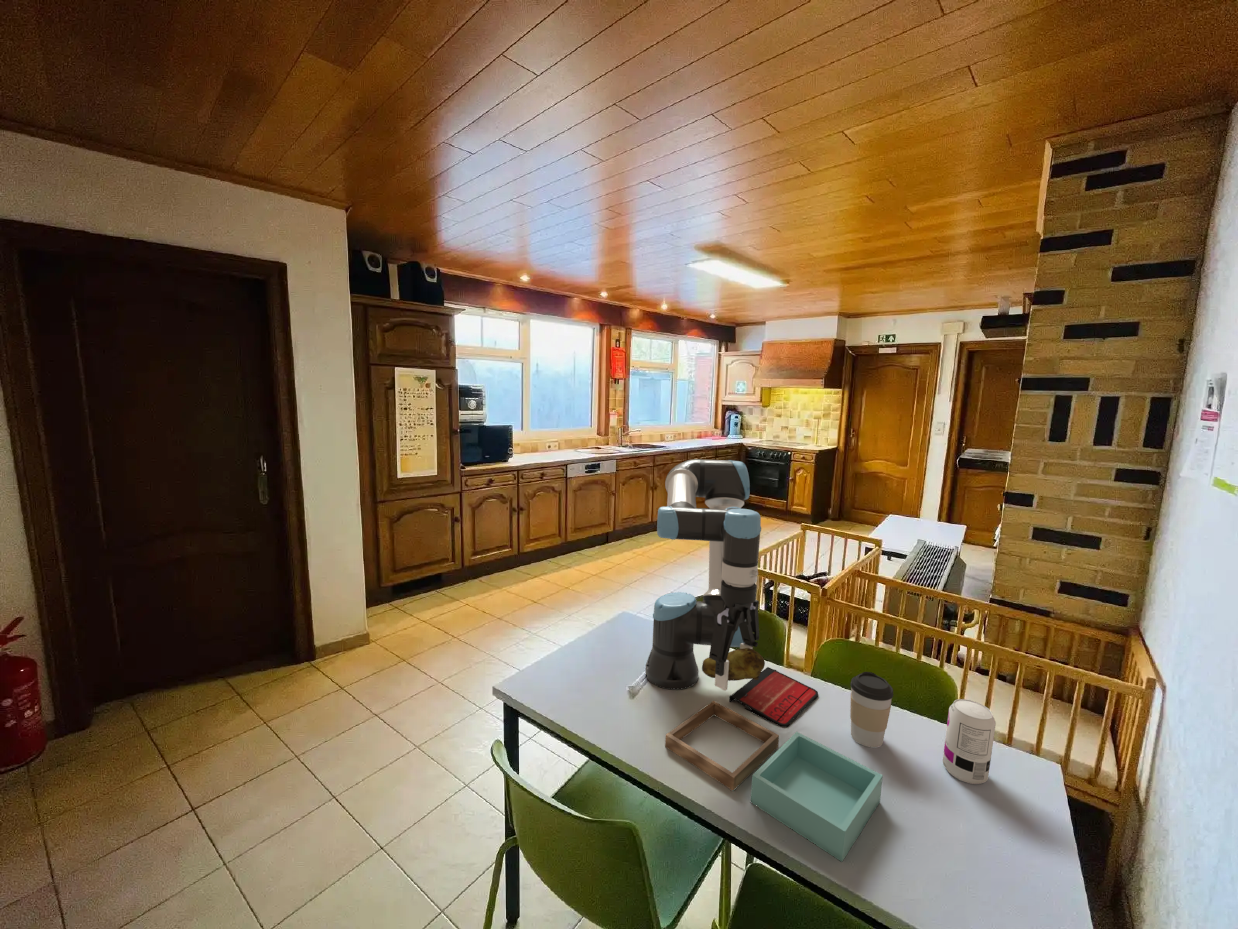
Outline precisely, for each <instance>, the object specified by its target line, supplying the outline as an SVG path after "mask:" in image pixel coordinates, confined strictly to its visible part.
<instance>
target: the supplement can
mask: <svg viewBox="0 0 1238 929" xmlns="http://www.w3.org/2000/svg"><path fill="white" fill-rule="evenodd" d="M952 702H953V703H952V704H951V705H949V708H948V715H947V724H946V730H945V739H944V747H943V754H942V765H943V766H944V768H945V769H946V771H948V773H949V774H950V775H951V776H952V777H953V778H956V779H957V780H959V781H961V782H964V783H965V784H966V783H967V784H970V785H980V784H983V783H986V782H987V781H988V779H989V775H990V774H989V773H990V766H991V761H992V754H993V745H994V740H995V733H996V732H995V730H996V725H997V722H996V720H995V718H994V714H993V712H992V711H991V709H990V708H988V707H987V706H986V705H984V704H982V703H980V702H977V701H974V700H971V699H967V698H966V699H965V698H962V699H961V698H958V699H955V700H954V701H952Z"/></svg>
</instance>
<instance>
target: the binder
mask: <svg viewBox="0 0 1238 929" xmlns="http://www.w3.org/2000/svg"><path fill="white" fill-rule="evenodd" d="M818 697H819V691H818V690H817V689H815V688H813V687H811V686H808V685H806V684H804V683H803V682H800V681H798V680H796V679H794V678H792V677H790V676H788V675H787V674H784V673H782V672H781V671H777V670H776V669H773V668H772V667H769V666H767V667H766V668H763V670H762V671H761V674H760V676H759V678H758V680H755V679H749V681H747V683H745V684H744V685H743V686H741V687H740V688H739V689H737V690H736V691H735V692H734V693H732V694H731V695H729V703H732V702H733V701H736V702H738V703H740V704H741V705H743V706H745V707H744V708H743V709H744V710H746V711H747V712H749V713H751V714H753V715H755V716H758V717H760V718H762V719H764V720H766V721H767V722H771V723H772V724H774V725H776V726H779V727H782V728H788V727H790V726H791V724H792V723H793V722H794V721H795V719H796V718H797V717H798V716H799V715H800V714H801V713H802V712H803V711H804V710H805V709H806V708H807V707H808V706H809V705H810V704H811V703H812V702H814V701H815V700H816V699H817V698H818Z"/></svg>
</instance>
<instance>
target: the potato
mask: <svg viewBox="0 0 1238 929" xmlns="http://www.w3.org/2000/svg"><path fill="white" fill-rule="evenodd" d="M727 660H728V661H729V670H728V681H729V682H730V681H743V680H752V679H755V680H758V678H759V676H760V674H761V672H762V671H763V670H764V669H765V665H766V663H765V662H766V660H765V659H764V657H763V656H762V655H761V654H760V652H758V651H756V650H755V649H750V648H744V649H740V648H738V649H733V650H732V651H729V653H728V657H727ZM715 666H716V661H715V660H713V659H711V658H709V656H708V657H706V658H705V659H703V660H702V666H701V672H703V674H705V675H706V676H708V677H709V678H712V679H715V674H716V673H715V668H716V667H715Z"/></svg>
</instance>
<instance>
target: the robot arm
mask: <svg viewBox="0 0 1238 929" xmlns="http://www.w3.org/2000/svg"><path fill="white" fill-rule="evenodd" d="M664 484H665V485H664V486H665V489H666V492H667V500H666V503H667V504H666V506H660V507H659V508H658V510H657V519H656V520H657V526H656V527H657V528H656V532H657V536H658V537H659V538H660V539H661V538H662V539H668V540H671V541H673V540H680V541H681V540H682V541H684V540H686V541H702V542H703V541H704V542H709V544H708V547H709V551H708V589H707V591H705V593H704V594H703V595H702V601H701V600H699V601H698V600H697V599H696V596H694V595H693V594H691V593H687V592H682V591H678V592H677V591H676V592H670V593H666V594H663V595H661V596H659V597H658V598H657V599H656V600H655V603H654V606H653V613H652V619H653V621H652V622H653V625H652V626H653V627H652V647H651V649H650V652H649V655H648V658H647V660H646V664H645V669H644V670H645V673H646V674H647V677H646V679H647V680H648V681H649V682H650V683H651V684H653V685H655V686H657V687H660V688H662V689H666V690H683V689H684V690H685V689H687V688H691V687H692V686H695V684H696V683H697V682H698V680H699V666H698V664H697V661H696V656H695V653H694V645H700V646H710V649H709V655H708V657H709V658H711V659H713V660H715V661H716V666H715V667H716V668H715V673H716V674H715V678H714V686H715V687H717V688H719V689H721V690H723V691H728V687H729V686H728V685H729V684H728V683H729V682H728V670H729V661H728V660H727V657H728V653H729V652H730V649H731V648H739V649H744V648H750V649H753V648H754V647H755V648H756V647H758V645H759V643H758V642H757V641H759V639H760V628H759V627H760V625H759V624H760V623H759V622H760V621H759V604H760V601H759V600H757V593H758V592H757V591H758V590H757V589H758V586H757V581H758V575H759V571H758V570H759V569H758V567H759V566H758V565H759V552H760V542H761V532H762V526H761V524H762V521H761V518H762V517H761V515H760V513H759V512H758V511H755V510H752V509H747V508H742V507H743V506H745V501H746V500H748V499H749V498H750V492H751V491H750V487H751V485H750V484H751V483H750V476H749V472H748V468H747V465H746V463H744V462H743V461H739V460H732V459H728V460H727V459H726V460H724V459H723V460H721V459H720V460H719V459H700V458H696V459H688V460H685V461H683V462H680V463H678V464H676V465H675V466H674V467H673V468H671V469H670V471H669V472H668V473H667V476H666V477H665V482H664ZM696 498H704V504H705V505H706V506H707V507H708V508H702V507H699V508H698V507H697V502H696V501H697V500H696ZM753 650H754V649H753ZM646 674H645V675H646Z"/></svg>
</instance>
